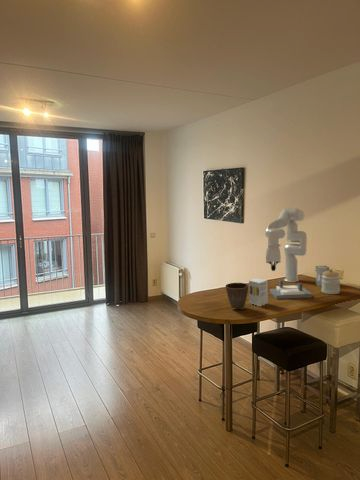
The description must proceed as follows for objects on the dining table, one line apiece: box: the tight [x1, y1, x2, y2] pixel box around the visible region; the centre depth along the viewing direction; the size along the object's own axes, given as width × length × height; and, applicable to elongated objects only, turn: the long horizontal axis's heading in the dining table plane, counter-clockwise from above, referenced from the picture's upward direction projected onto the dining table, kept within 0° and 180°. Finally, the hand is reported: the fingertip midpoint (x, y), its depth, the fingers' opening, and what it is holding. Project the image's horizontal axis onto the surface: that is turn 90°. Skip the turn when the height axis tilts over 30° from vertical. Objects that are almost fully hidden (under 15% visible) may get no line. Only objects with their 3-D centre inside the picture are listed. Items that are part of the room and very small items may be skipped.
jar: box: [320, 268, 341, 295], centre depth 267 cm, size 13×13×18 cm
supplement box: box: [248, 277, 269, 307], centre depth 247 cm, size 10×9×17 cm
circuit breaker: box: [314, 265, 330, 287], centre depth 287 cm, size 8×14×15 cm, turn 89°
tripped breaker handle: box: [278, 279, 284, 288], centre depth 270 cm, size 4×2×5 cm, turn 1°
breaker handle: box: [297, 281, 303, 291], centre depth 260 cm, size 4×2×5 cm, turn 1°
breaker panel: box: [269, 284, 313, 300], centre depth 266 cm, size 18×26×5 cm
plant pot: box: [225, 282, 249, 310], centre depth 239 cm, size 15×15×16 cm
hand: (273, 270), depth 268 cm, fingers closed
